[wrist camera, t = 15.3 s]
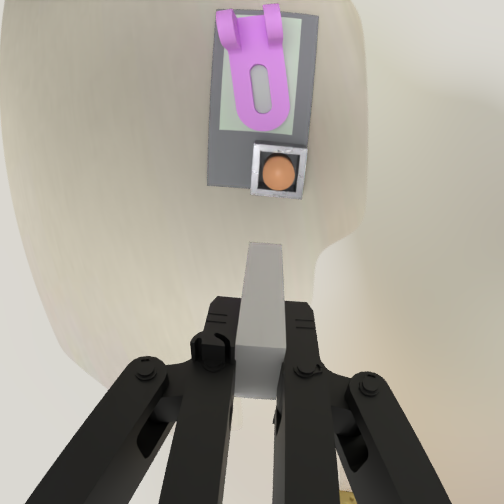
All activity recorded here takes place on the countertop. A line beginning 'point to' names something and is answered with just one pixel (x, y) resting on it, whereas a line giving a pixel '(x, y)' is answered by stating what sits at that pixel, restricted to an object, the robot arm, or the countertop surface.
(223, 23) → the bracket
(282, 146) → the button housing
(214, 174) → the grey flat plate
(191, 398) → the robot arm
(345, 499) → the cheese
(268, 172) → the button
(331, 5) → the countertop surface
